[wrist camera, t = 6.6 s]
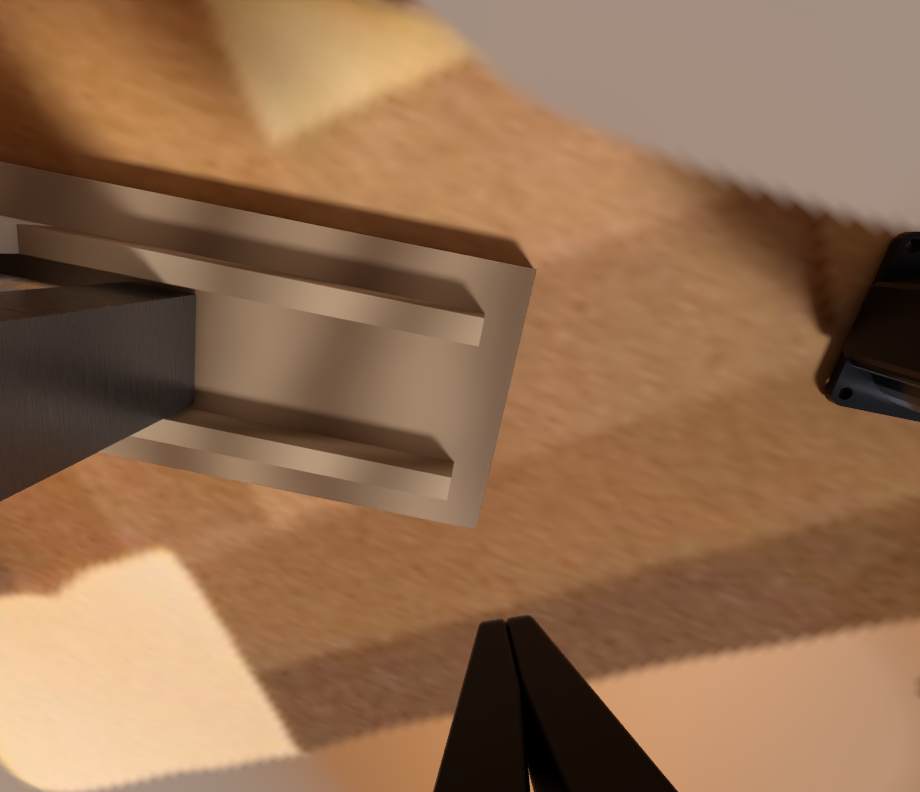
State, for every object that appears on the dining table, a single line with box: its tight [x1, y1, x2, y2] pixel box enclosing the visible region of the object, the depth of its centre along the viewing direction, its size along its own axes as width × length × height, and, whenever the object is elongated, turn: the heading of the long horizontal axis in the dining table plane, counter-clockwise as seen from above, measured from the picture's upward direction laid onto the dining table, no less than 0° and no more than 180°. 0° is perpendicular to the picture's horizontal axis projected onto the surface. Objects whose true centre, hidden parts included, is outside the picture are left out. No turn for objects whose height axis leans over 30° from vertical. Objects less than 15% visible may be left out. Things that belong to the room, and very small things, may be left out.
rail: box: [0, 161, 537, 529], centre depth 18 cm, size 25×11×3 cm, turn 79°
